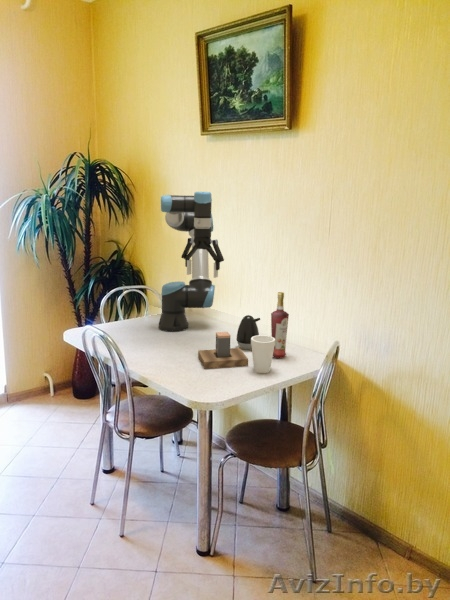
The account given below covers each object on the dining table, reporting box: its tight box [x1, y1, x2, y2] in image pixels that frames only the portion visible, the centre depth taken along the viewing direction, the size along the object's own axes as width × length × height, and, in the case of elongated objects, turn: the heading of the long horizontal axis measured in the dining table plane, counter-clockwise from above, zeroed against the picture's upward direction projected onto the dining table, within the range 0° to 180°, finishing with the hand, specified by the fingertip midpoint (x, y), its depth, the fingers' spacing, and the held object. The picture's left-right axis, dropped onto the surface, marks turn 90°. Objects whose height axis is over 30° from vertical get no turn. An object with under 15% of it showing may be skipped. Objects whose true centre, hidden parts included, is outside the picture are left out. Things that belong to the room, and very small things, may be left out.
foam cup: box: [251, 334, 275, 374], centre depth 189 cm, size 10×9×13 cm
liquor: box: [270, 291, 289, 359], centre depth 203 cm, size 7×7×28 cm
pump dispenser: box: [236, 314, 261, 351], centre depth 215 cm, size 10×10×15 cm
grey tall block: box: [215, 331, 231, 358], centre depth 198 cm, size 5×5×12 cm
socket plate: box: [197, 347, 249, 370], centre depth 199 cm, size 18×14×3 cm
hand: (202, 275), depth 214 cm, fingers open, 13 cm apart
